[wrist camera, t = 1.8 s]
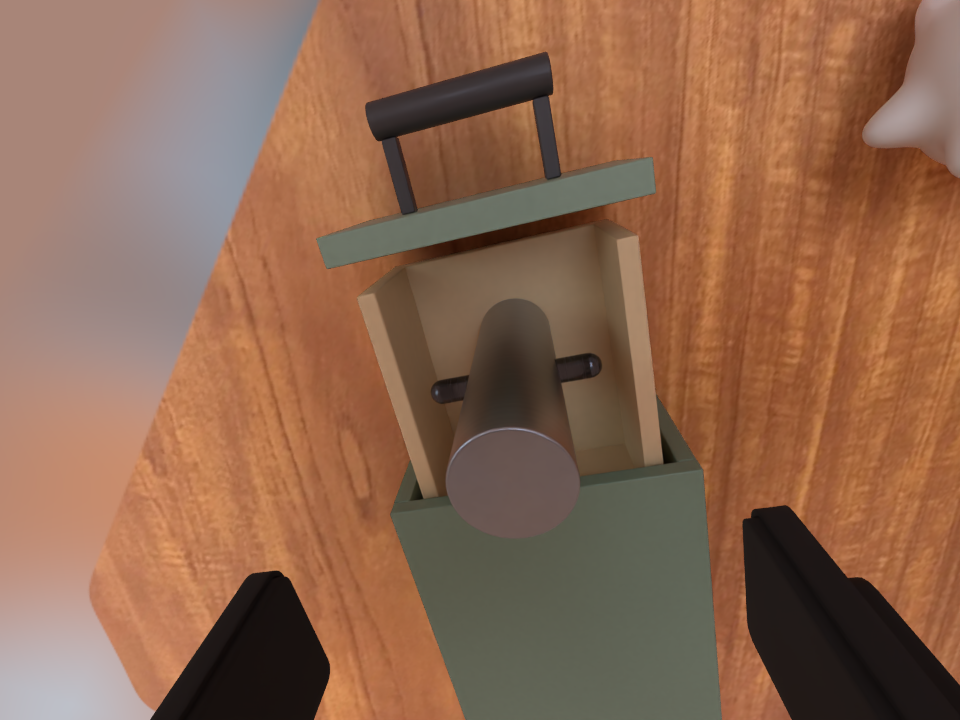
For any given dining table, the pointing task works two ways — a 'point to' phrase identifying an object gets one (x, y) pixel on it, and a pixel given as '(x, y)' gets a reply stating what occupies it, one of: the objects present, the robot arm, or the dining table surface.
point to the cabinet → (576, 599)
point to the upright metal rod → (514, 426)
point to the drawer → (507, 279)
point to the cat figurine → (926, 91)
